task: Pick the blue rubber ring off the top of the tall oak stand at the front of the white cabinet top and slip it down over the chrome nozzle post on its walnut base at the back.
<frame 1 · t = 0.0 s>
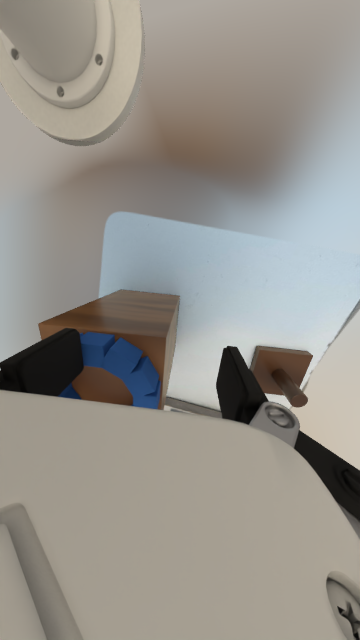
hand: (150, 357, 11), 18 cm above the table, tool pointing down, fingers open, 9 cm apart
stand: (149, 320, 29), on the table
picture frame: (207, 426, 37), on the table
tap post: (274, 369, 31), on the table
ring: (105, 383, 14), point 16 cm above the table, touching stand
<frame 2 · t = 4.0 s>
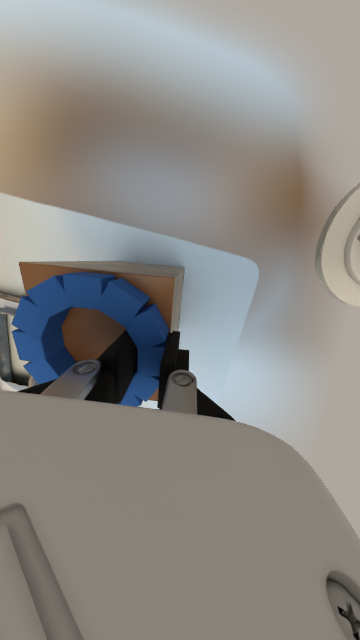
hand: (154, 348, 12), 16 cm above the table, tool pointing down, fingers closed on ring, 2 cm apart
stand: (151, 296, 27), on the table
picture frame: (28, 353, 33), on the table
ring: (103, 341, 12), point 16 cm above the table, touching gripper
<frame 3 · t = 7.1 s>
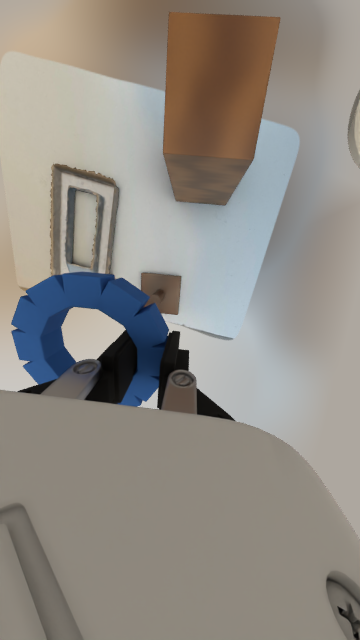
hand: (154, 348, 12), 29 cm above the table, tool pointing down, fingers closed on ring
stand: (204, 172, 32), on the table
picture frame: (89, 241, 37), on the table
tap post: (161, 293, 40), on the table
ring: (103, 341, 12), point 29 cm above the table, touching gripper
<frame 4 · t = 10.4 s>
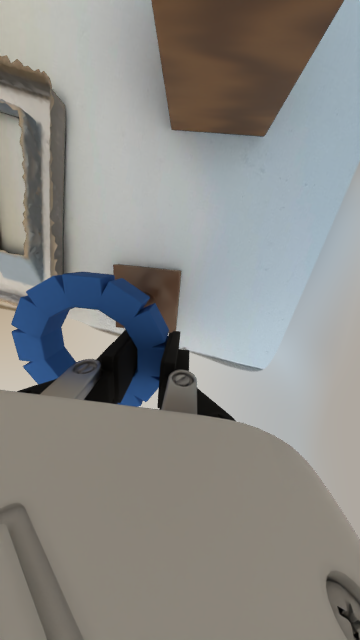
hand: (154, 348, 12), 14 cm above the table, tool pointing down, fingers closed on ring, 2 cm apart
stand: (226, 65, 16), on the table
picture frame: (24, 211, 22), on the table
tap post: (148, 298, 25), on the table
ring: (103, 341, 12), point 14 cm above the table, touching gripper
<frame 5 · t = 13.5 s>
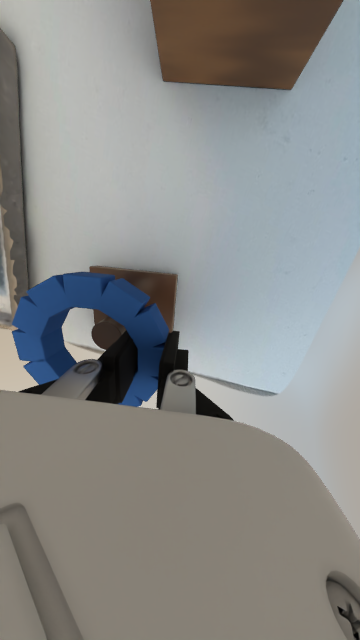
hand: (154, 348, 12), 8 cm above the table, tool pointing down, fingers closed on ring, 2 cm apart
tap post: (137, 309, 20), on the table
ring: (104, 341, 12), point 8 cm above the table, touching gripper
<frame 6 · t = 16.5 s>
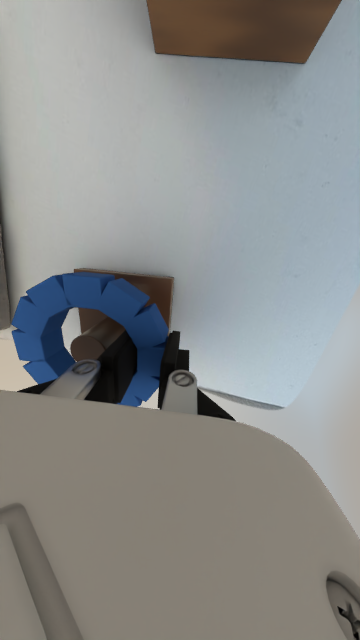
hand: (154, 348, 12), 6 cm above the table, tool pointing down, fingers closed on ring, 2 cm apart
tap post: (129, 316, 18), on the table
ring: (103, 341, 12), point 6 cm above the table, touching gripper
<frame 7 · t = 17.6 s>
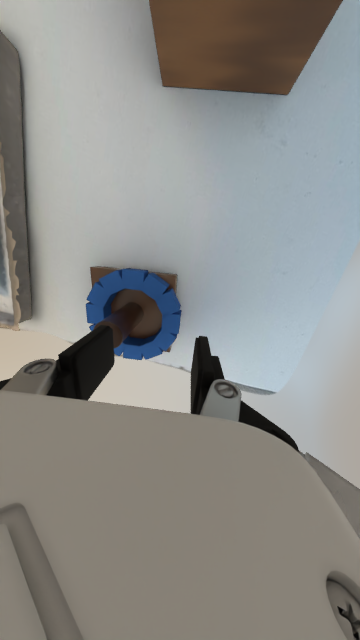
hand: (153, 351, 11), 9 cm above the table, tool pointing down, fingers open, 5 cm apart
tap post: (137, 309, 20), on the table
ring: (137, 313, 19), point 1 cm above the table, touching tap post
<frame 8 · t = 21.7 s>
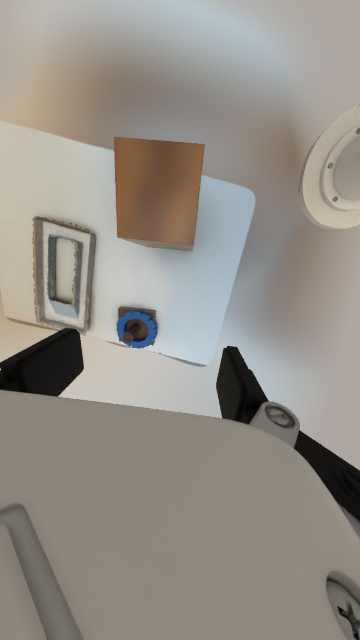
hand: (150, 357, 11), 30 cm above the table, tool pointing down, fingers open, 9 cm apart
stand: (171, 223, 35), on the table
picture frame: (70, 279, 40), on the table
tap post: (138, 325, 43), on the table
ring: (138, 327, 42), point 1 cm above the table, touching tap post
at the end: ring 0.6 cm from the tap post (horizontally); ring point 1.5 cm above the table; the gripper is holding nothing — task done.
